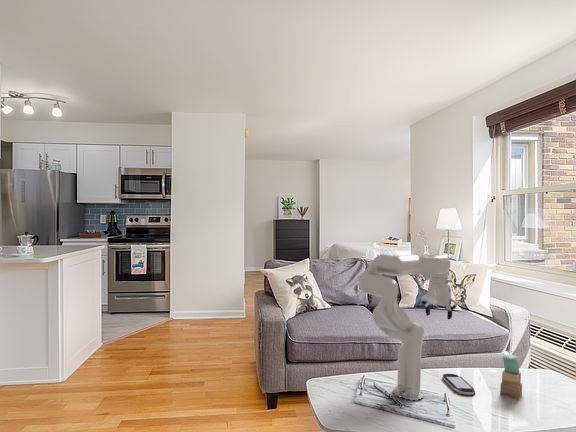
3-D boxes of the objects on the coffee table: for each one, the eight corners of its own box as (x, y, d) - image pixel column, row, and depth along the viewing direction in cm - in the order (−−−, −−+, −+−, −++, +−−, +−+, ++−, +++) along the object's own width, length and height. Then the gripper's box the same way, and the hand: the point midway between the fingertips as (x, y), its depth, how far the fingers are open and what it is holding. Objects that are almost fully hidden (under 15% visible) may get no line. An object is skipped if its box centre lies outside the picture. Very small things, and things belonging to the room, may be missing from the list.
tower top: (517, 388, 161) (517, 376, 161) (501, 383, 165) (502, 372, 165) (520, 383, 165) (520, 372, 165) (505, 379, 169) (505, 368, 169)
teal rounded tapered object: (504, 372, 165) (501, 359, 165) (506, 367, 169) (503, 354, 169) (518, 374, 162) (516, 360, 162) (520, 369, 166) (517, 355, 166)
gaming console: (439, 377, 182) (439, 372, 182) (458, 378, 182) (458, 372, 182) (457, 396, 163) (458, 390, 163) (478, 397, 163) (478, 391, 163)
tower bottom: (518, 400, 160) (519, 388, 160) (500, 394, 165) (500, 383, 165) (521, 394, 165) (522, 383, 165) (504, 389, 170) (504, 378, 170)
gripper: (461, 282, 174) (460, 319, 174) (423, 277, 185) (423, 312, 185) (456, 284, 169) (455, 322, 168) (418, 279, 180) (417, 315, 179)
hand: (438, 317), depth 177 cm, fingers open, 9 cm apart
